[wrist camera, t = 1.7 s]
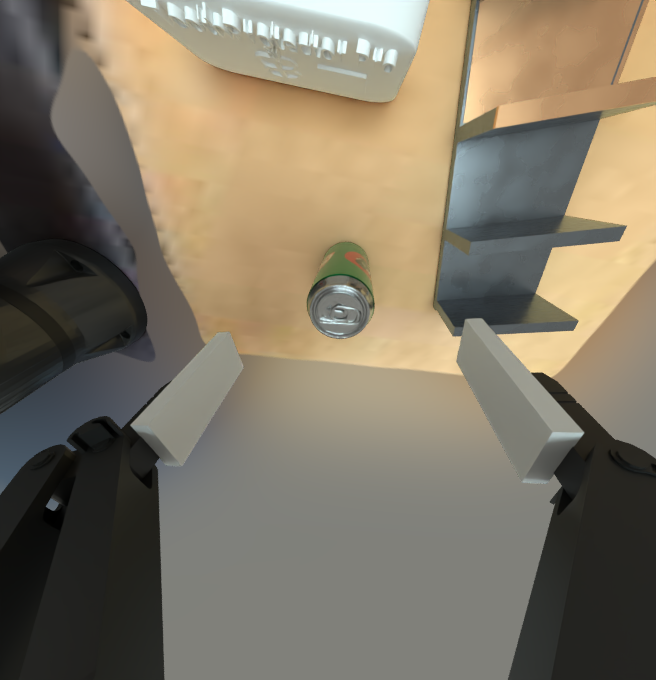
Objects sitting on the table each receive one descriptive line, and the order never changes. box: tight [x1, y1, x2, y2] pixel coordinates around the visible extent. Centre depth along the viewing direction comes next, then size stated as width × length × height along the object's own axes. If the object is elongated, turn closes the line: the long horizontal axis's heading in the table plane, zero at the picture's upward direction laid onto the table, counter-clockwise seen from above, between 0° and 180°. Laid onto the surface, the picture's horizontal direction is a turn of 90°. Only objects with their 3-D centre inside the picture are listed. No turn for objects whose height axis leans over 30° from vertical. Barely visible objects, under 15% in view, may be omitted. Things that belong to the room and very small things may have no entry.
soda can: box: [307, 242, 375, 339], centre depth 22 cm, size 5×5×12 cm
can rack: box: [433, 0, 656, 336], centre depth 18 cm, size 10×24×7 cm, turn 7°
